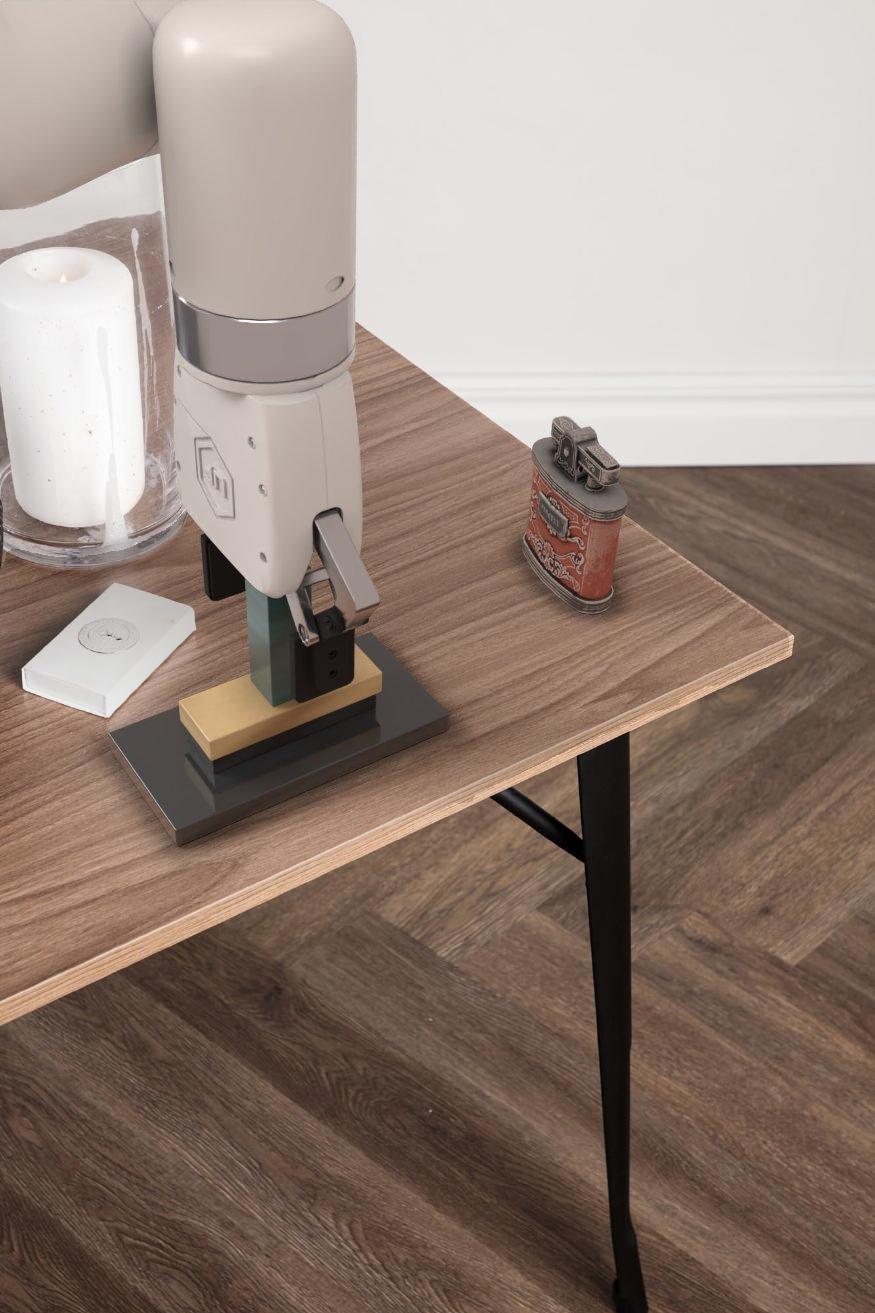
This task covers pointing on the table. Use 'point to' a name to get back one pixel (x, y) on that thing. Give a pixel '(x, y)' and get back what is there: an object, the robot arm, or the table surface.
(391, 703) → the board
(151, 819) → the table surface
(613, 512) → the lighter
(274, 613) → the rubber stamp
